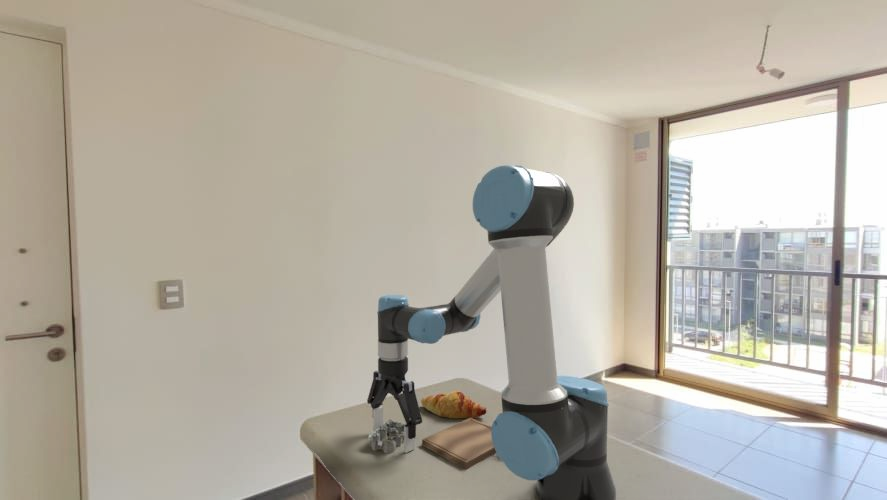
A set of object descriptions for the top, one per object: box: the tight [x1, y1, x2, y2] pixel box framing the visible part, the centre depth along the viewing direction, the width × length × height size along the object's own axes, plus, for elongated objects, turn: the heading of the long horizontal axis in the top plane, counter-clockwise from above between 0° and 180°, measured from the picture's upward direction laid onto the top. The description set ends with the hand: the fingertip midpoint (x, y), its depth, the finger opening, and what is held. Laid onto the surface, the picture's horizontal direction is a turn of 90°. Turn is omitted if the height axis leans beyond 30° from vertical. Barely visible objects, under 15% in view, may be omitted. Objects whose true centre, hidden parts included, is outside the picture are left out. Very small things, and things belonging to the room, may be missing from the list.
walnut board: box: [421, 418, 497, 470], centre depth 104 cm, size 15×18×2 cm
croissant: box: [420, 390, 487, 420], centre depth 123 cm, size 21×10×8 cm, turn 66°
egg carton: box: [367, 418, 406, 454], centre depth 105 cm, size 11×8×4 cm
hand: (393, 441), depth 105 cm, fingers open, 12 cm apart
